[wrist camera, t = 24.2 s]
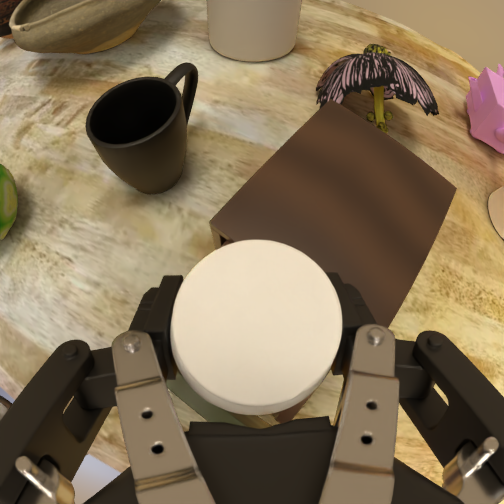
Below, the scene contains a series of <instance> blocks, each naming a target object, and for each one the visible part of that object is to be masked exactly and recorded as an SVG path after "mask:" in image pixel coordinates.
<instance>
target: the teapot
mask: <svg viewBox="0 0 504 504" xmlns="http://www.w3.org/2000/svg"><path fill="white" fill-rule="evenodd" d="M503 76H504V70H503V67H502V66H501V65H500V64H498V70H497V73H494V72H493V71H491V70H490V69H488V68H487V67H485V68H484V70H483V71H482V73H481V74H480V76H479V77H478V79H476V78H473V77H470V76H469V77H468V78H469V83H470V91H469V92H468V94H467V95H466V100H467V106H468V109H467V113H468V114H469V117H470V123H471V129H470V133H471V135H472V136H473V137H474V138H475V139H480V140H482V141H483V142H485V143H487V144H488V145H490V146H492V147H493V148H495V150H496V151H497V152H498V153H503V154H504V79H503Z"/></svg>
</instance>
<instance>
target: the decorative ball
mask: <svg viewBox="0 0 504 504" xmlns="http://www.w3.org/2000/svg"><path fill="white" fill-rule="evenodd" d="M17 205H18V196H17V189H16V184H15V180H14V178H13V176H12V174H11V173H10V171H9V170H8V169H7V168H5V167H4V166H3V165H2V164H0V240H2V239H3V238H4V237H5V236H6V234H7V232H8V231H9V229H10V228H11V226H12V224H13V223H14V221H15V219H16V215H17Z"/></svg>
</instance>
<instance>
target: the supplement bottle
mask: <svg viewBox="0 0 504 504" xmlns="http://www.w3.org/2000/svg"><path fill="white" fill-rule="evenodd" d="M341 334H342V312H341V306H340V302H339V299H338V296H337V293H336V291H335V288H334V286H333V285H332V283H331V281H330V280H329V278H328V276H327V275H326V274H325V272H324V271H323V270H322V269H321V268H320V267H319V266H318V265H317V264H316V263H315V262H314V261H313V260H312V259H310V258H309V257H308V256H307V255H305V254H304V253H302V252H301V251H299V250H297V249H295V248H293V247H291V246H288V245H286V244H282V243H279V242H275V241H270V240H244V241H239V242H235V243H232V244H229V245H226V246H223V247H221V248H219V249H217V250H215V251H213V252H212V253H210V254H209V255H207V256H206V257H204V258H203V259H202V260H201V261H200V262H198V263H197V264H196V265H195V266H194V268H193V269H192V270H191V271H190V272H189V274H188V275H187V276H186V278H185V279H184V281H183V282H182V284H181V287H180V289H179V291H178V293H177V296H176V300H175V303H174V307H173V314H172V319H171V326H170V339H171V347H172V353H173V356H174V359H175V362H176V364H177V367H178V369H179V371H180V372H181V374H182V376H183V377H184V379H185V380H186V382H187V383H188V384H189V385H190V387H191V388H192V389H193V390H194V391H195V392H196V393H197V394H198V395H200V396H201V397H202V398H204V399H205V400H206V401H208V402H209V403H211V404H213V405H215V406H217V407H219V408H222V409H224V410H227V411H230V412H233V413H238V414H244V415H265V414H271V413H276V412H279V411H282V410H285V409H287V408H290V407H292V406H294V405H296V404H297V403H299V402H301V401H302V400H304V399H305V398H306V397H308V396H309V395H310V394H311V393H312V392H313V391H314V390H315V389H316V388H317V387H318V386H319V385H320V384H321V382H322V381H323V380H324V378H325V377H326V375H327V373H328V372H329V370H330V368H331V365H332V363H333V360H334V358H335V356H336V353H337V350H338V348H339V344H340V340H341Z"/></svg>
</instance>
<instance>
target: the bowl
mask: <svg viewBox="0 0 504 504" xmlns="http://www.w3.org/2000/svg"><path fill="white" fill-rule="evenodd" d="M160 1H161V0H23V1H22V2H21V3H20V4H19V5H18V6H17V7H16V9H15V10H14V12H13V14H12V16H11V19H10V22H9V25H10V27H11V30H12V36H13V38H14V41H15V43H16V44H17V45H18V46H19V47H20V48H22V49H23V50H26V51H31V52H37V53H77V54H88V53H93V52H100V51H104V50H107V49H110V48H113V47H115V46H117V45H119V44H121V43H123V42H124V41H126V40H128V39H129V38H130V37H131V36H132V35H133V34H134V33H135V32H136V31H137V29H138V27H139V26H140V25H141V23H142V22H143V21H144V19H145V18H146V17H147V15H148V14H149V12H150V11H151V10H152V9H153V8H154V7H155V6H156V5H157V4H158V3H159V2H160Z"/></svg>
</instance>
